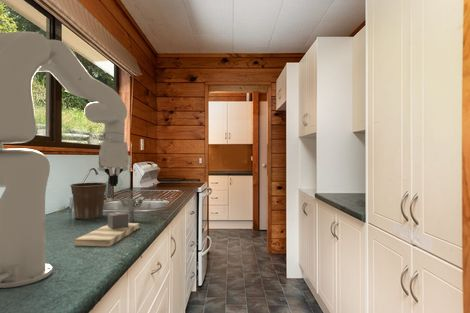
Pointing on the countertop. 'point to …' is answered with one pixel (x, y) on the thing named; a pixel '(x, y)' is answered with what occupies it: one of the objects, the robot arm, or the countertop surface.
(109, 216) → the grey and orange block
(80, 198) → the plant pot
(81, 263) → the countertop surface
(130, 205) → the mechanical component
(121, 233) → the light wood flat block
